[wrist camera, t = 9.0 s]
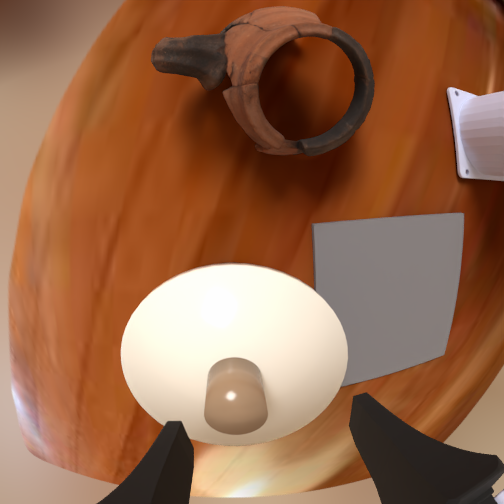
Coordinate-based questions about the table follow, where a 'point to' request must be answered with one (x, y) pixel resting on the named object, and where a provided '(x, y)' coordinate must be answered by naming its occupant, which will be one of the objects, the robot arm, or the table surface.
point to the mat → (390, 287)
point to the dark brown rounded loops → (252, 63)
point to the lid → (234, 353)
